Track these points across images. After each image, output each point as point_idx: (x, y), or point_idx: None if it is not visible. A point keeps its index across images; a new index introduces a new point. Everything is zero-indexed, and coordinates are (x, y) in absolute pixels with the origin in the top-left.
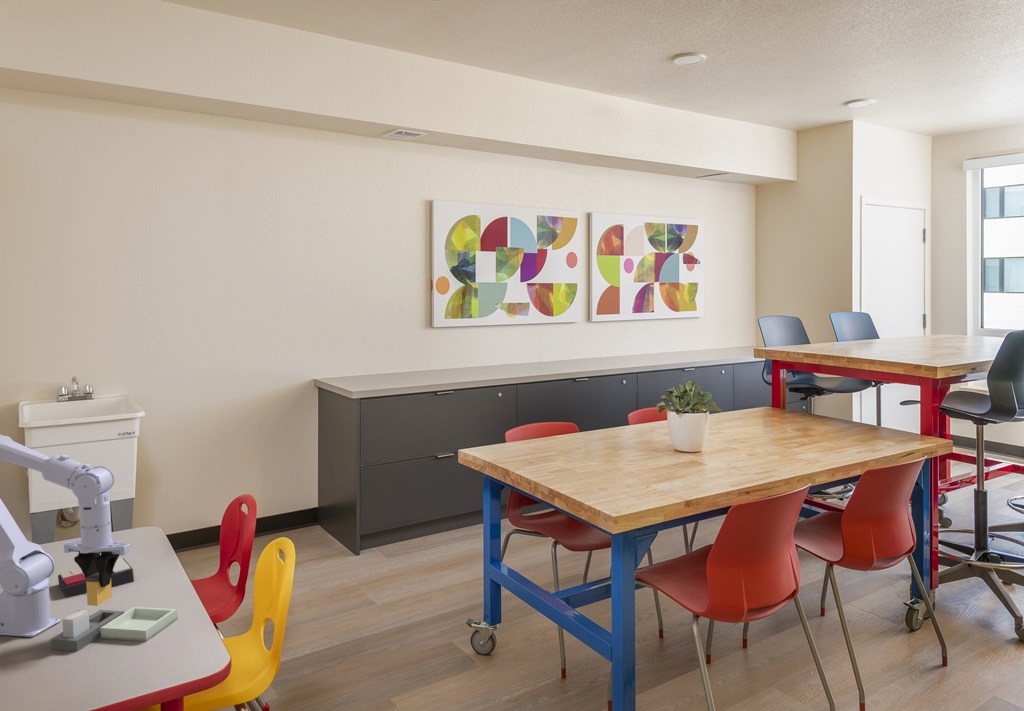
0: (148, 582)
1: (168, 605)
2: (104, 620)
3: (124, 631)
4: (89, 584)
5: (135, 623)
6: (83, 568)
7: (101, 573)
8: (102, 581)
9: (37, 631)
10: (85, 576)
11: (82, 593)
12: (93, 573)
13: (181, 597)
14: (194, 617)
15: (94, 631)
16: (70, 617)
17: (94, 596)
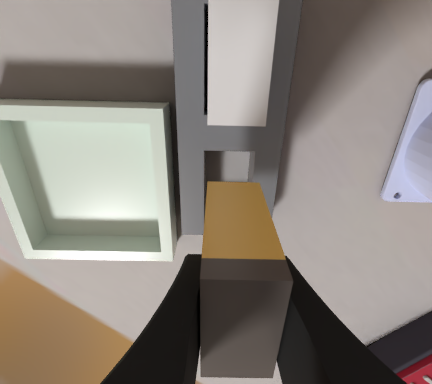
0: (273, 375)
1: (138, 297)
2: (197, 170)
3: (61, 105)
4: (257, 246)
5: (127, 197)
6: (357, 370)
7: (159, 327)
8: (177, 277)
9: (420, 109)
10: (316, 302)
11: (402, 328)
12: (285, 342)
13: (140, 330)
14: (9, 251)
15: (175, 91)
16: (243, 23)
17: (220, 202)
